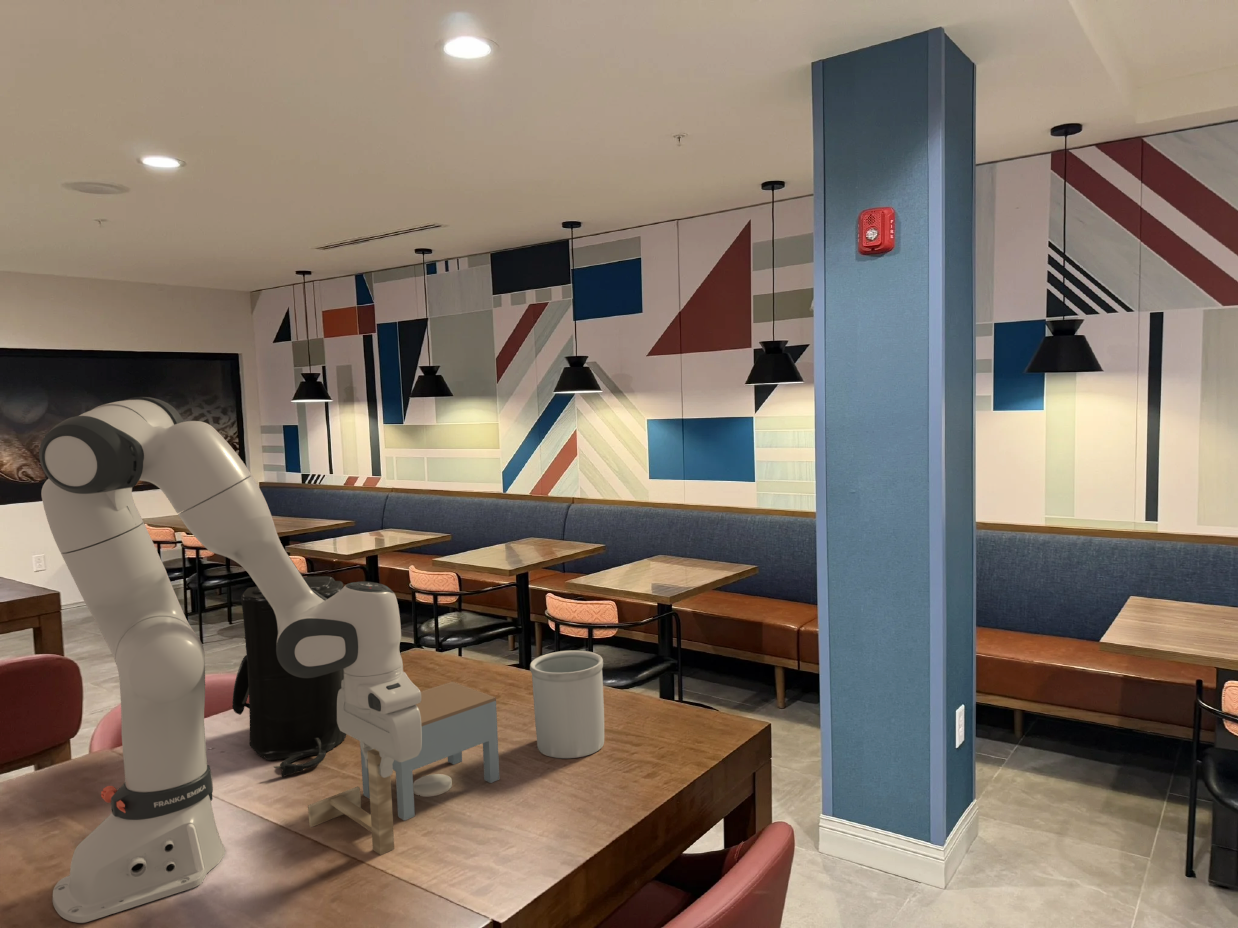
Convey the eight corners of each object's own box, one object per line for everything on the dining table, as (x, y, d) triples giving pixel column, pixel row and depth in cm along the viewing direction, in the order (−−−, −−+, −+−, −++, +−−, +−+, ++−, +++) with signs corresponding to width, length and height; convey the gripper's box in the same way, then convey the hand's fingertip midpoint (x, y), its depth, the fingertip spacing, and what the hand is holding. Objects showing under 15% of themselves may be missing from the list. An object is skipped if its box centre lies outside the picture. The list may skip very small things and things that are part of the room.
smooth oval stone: (426, 801, 144) (426, 795, 144) (405, 789, 149) (405, 783, 149) (459, 787, 149) (459, 781, 149) (437, 776, 154) (437, 770, 154)
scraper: (361, 863, 124) (355, 762, 123) (309, 825, 137) (303, 732, 136) (412, 840, 131) (407, 743, 130) (358, 805, 143) (353, 716, 142)
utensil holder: (523, 757, 161) (519, 670, 159) (547, 728, 175) (544, 648, 174) (595, 763, 157) (591, 674, 156) (613, 732, 172) (610, 651, 170)
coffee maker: (332, 706, 192) (324, 566, 190) (389, 748, 167) (381, 586, 165) (229, 733, 178) (219, 581, 176) (275, 783, 153) (263, 607, 151)
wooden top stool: (404, 820, 137) (399, 730, 136) (363, 794, 147) (358, 710, 146) (499, 779, 152) (495, 697, 150) (456, 758, 161) (452, 681, 160)
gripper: (324, 676, 132) (329, 759, 133) (389, 706, 117) (394, 799, 118) (360, 666, 136) (364, 747, 137) (427, 694, 122) (432, 783, 123)
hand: (379, 771), depth 128 cm, fingers closed on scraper, 2 cm apart
